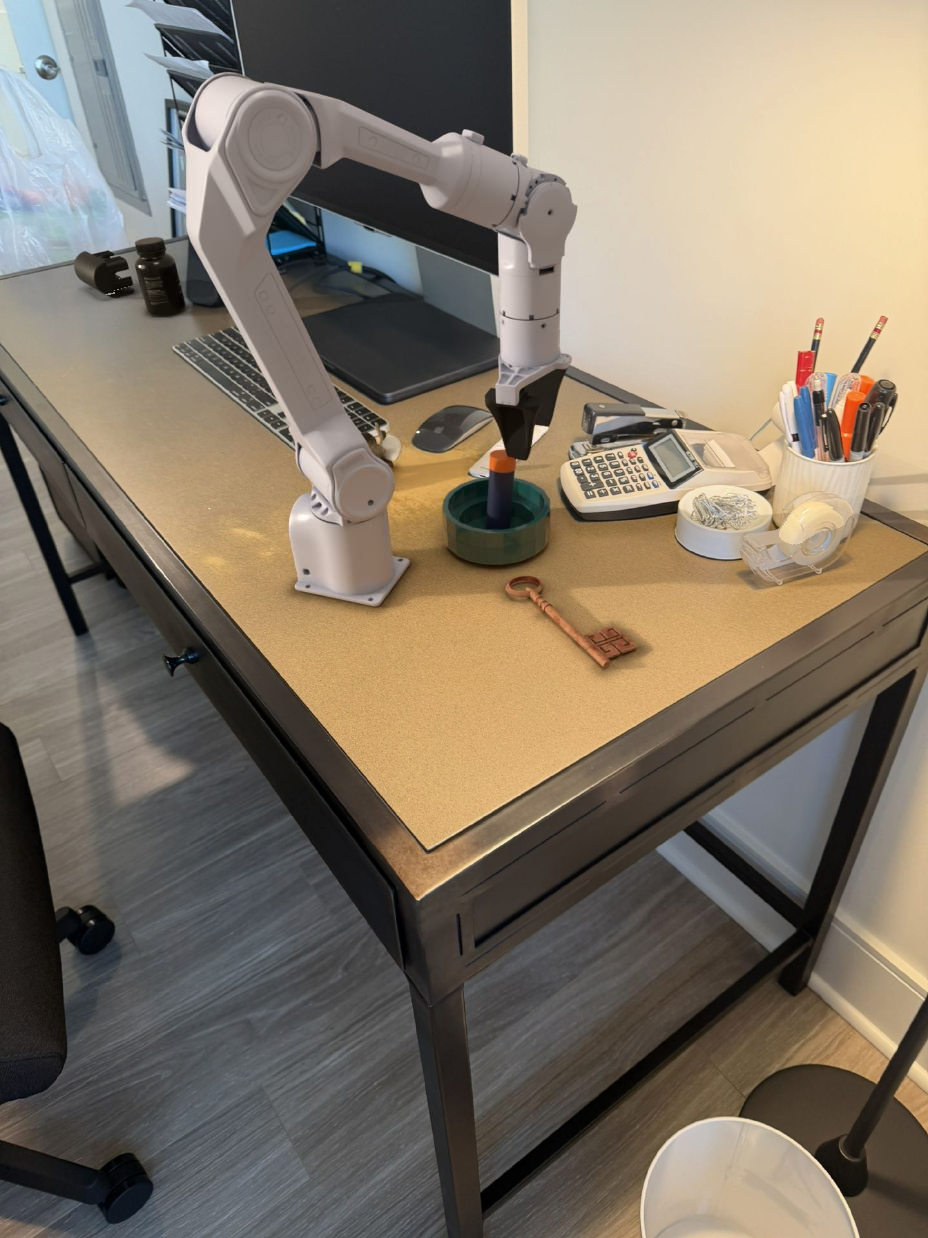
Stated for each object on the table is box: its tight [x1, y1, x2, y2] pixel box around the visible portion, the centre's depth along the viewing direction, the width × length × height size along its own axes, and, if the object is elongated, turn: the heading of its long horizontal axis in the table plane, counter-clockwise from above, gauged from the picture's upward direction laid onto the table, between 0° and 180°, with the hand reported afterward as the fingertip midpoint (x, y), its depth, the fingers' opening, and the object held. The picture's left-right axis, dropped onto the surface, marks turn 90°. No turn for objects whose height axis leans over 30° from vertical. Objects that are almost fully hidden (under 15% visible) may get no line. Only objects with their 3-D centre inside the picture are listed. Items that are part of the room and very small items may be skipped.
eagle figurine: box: [360, 422, 403, 469], centre depth 102 cm, size 8×7×9 cm
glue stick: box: [486, 449, 517, 530], centre depth 89 cm, size 3×3×9 cm
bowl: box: [441, 476, 551, 566], centre depth 91 cm, size 11×11×4 cm
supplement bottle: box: [134, 236, 187, 317], centre depth 150 cm, size 7×7×12 cm
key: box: [505, 575, 638, 669], centre depth 81 cm, size 6×1×15 cm
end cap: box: [73, 250, 135, 299], centre depth 162 cm, size 10×7×7 cm
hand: (529, 440), depth 89 cm, fingers open, 7 cm apart
